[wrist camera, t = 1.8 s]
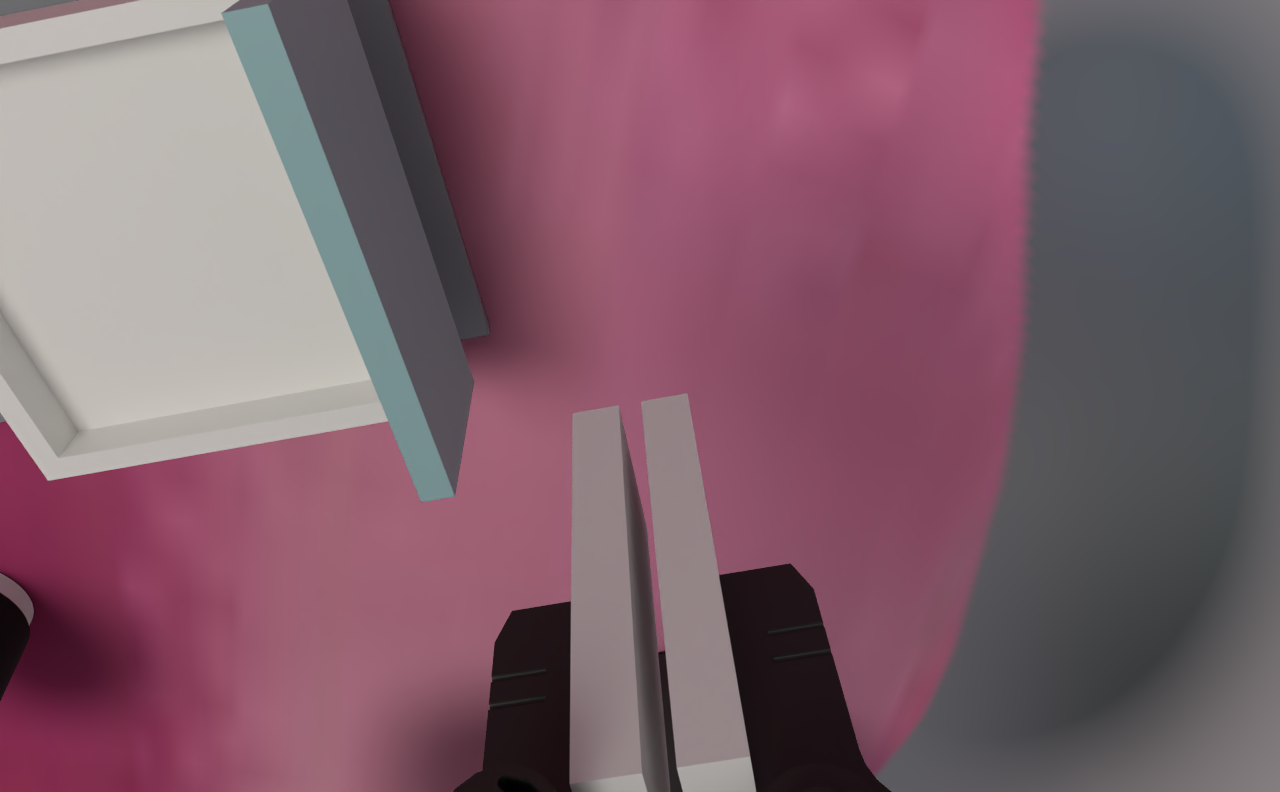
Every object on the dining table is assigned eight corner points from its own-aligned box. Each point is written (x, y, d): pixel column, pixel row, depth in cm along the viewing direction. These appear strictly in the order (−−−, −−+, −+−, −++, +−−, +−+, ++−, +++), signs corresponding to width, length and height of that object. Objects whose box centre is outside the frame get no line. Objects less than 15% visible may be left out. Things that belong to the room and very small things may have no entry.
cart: (481, 336, 34) (454, 496, 27) (104, 404, 35) (-24, 577, 27) (354, -65, 26) (267, 3, 19) (-127, 33, 27) (-390, 135, 20)
